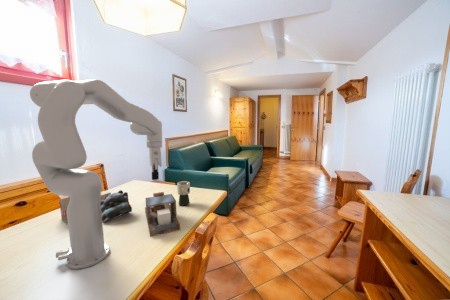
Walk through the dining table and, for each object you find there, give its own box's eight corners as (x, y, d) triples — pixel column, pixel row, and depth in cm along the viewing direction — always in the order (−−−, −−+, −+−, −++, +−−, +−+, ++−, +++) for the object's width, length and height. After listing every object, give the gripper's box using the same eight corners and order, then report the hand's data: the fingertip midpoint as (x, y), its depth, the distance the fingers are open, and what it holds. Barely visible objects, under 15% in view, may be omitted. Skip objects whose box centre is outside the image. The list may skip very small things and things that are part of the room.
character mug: (190, 207, 110) (189, 185, 108) (177, 208, 109) (176, 186, 107) (190, 200, 121) (189, 179, 119) (178, 201, 120) (177, 180, 118)
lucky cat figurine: (95, 225, 91) (90, 196, 95) (108, 222, 103) (104, 197, 106) (127, 213, 93) (121, 185, 97) (137, 212, 105) (131, 187, 108)
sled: (155, 231, 81) (154, 210, 79) (150, 211, 99) (149, 193, 98) (176, 226, 84) (175, 206, 83) (167, 208, 103) (167, 191, 101)
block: (159, 228, 84) (158, 215, 83) (157, 223, 88) (156, 210, 87) (171, 225, 86) (170, 212, 85) (168, 220, 90) (168, 208, 90)
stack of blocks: (108, 205, 114) (106, 185, 112) (112, 208, 109) (110, 187, 108) (61, 218, 98) (58, 195, 96) (63, 222, 94) (60, 198, 92)
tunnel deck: (150, 236, 82) (148, 212, 80) (145, 211, 105) (144, 192, 104) (180, 229, 87) (179, 206, 86) (169, 207, 111) (168, 188, 109)
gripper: (164, 145, 96) (165, 182, 98) (160, 143, 109) (160, 175, 111) (148, 145, 93) (148, 183, 94) (145, 143, 106) (146, 177, 108)
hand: (155, 179), depth 103 cm, fingers closed
